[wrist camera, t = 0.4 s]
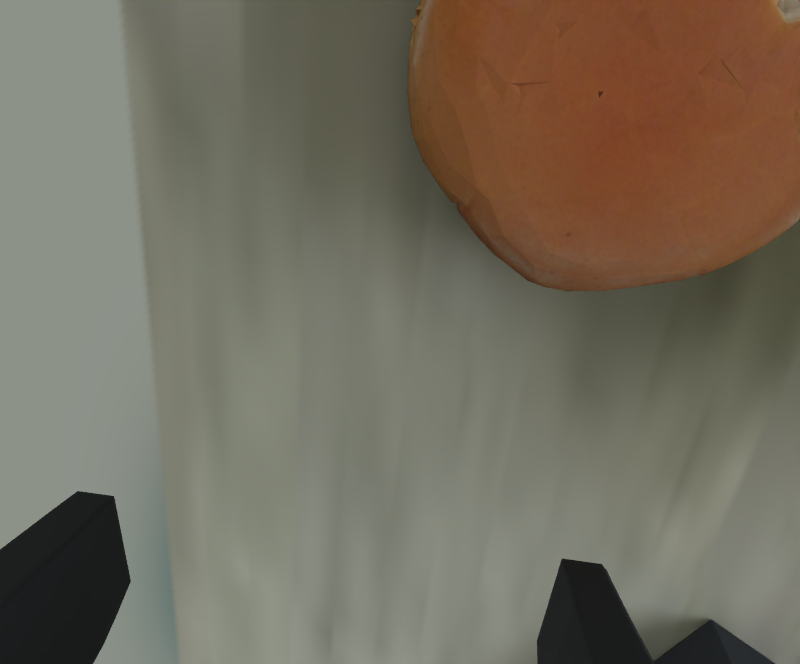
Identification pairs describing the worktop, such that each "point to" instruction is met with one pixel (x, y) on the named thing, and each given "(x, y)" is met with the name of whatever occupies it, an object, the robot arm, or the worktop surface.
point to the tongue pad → (712, 649)
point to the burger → (611, 131)
